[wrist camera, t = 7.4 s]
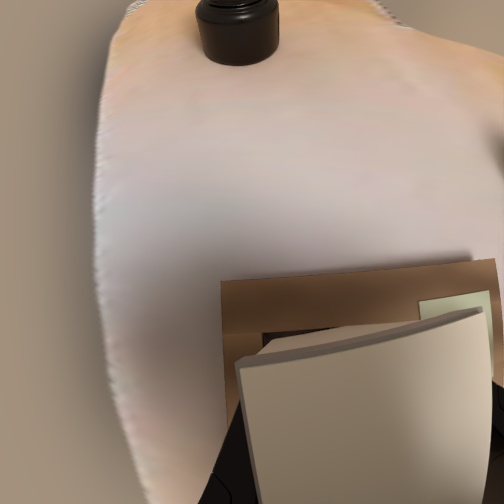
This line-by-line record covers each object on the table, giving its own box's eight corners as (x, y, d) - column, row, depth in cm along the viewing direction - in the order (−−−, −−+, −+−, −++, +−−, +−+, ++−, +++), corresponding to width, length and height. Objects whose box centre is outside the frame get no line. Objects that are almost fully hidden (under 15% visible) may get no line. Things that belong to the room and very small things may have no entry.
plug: (356, 396, 17) (484, 505, 3) (281, 410, 17) (271, 568, 3) (346, 324, 18) (487, 305, 4) (270, 337, 18) (232, 364, 5)
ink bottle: (295, 39, 30) (297, -42, 19) (256, 77, 29) (248, -18, 17) (229, 22, 32) (218, -51, 20) (187, 56, 30) (163, -24, 19)
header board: (479, 434, 18) (498, 442, 15) (238, 482, 19) (233, 500, 16) (475, 266, 22) (495, 257, 19) (227, 287, 23) (220, 280, 20)
